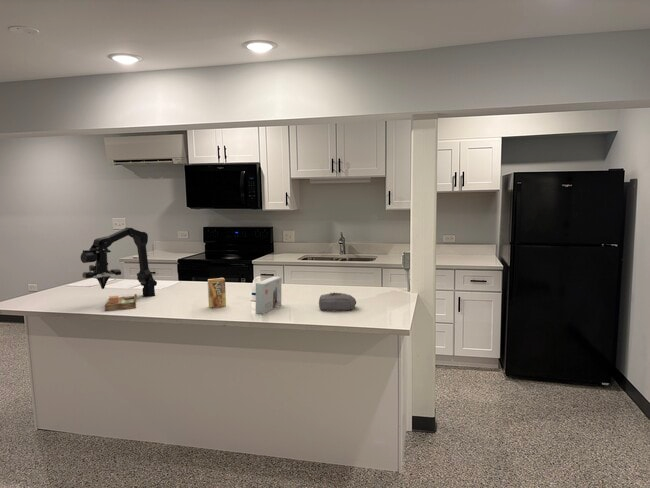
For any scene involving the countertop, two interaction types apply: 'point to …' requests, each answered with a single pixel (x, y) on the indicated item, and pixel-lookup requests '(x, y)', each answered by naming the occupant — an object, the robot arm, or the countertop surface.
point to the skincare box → (268, 294)
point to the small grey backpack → (336, 302)
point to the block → (113, 299)
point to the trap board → (122, 303)
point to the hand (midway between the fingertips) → (102, 288)
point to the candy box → (216, 292)
